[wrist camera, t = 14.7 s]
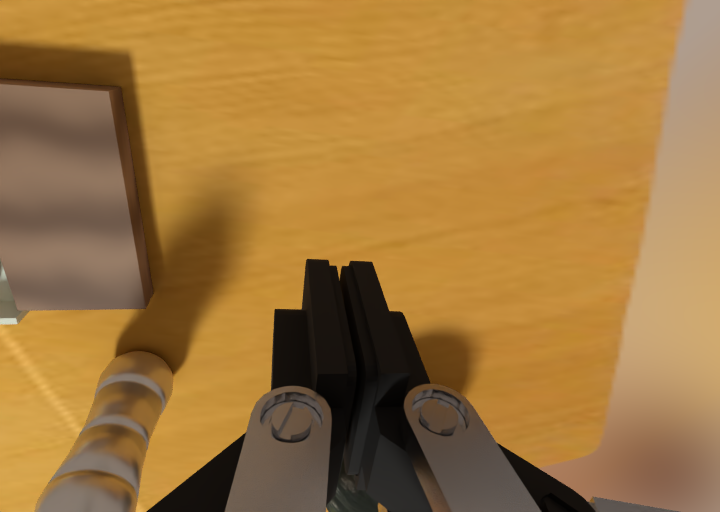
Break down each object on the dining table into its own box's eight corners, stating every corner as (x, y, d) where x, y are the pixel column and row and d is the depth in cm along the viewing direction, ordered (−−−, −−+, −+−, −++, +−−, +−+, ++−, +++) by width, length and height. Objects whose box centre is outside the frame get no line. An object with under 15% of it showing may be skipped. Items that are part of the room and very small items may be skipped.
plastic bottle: (154, 332, 42) (61, 551, 25) (190, 379, 45) (131, 600, 28) (94, 356, 42) (-41, 589, 25) (134, 400, 45) (41, 633, 28)
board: (-36, 75, 30) (-61, 79, 28) (120, 86, 32) (108, 91, 29) (33, 294, 38) (17, 310, 36) (153, 293, 40) (145, 308, 38)
